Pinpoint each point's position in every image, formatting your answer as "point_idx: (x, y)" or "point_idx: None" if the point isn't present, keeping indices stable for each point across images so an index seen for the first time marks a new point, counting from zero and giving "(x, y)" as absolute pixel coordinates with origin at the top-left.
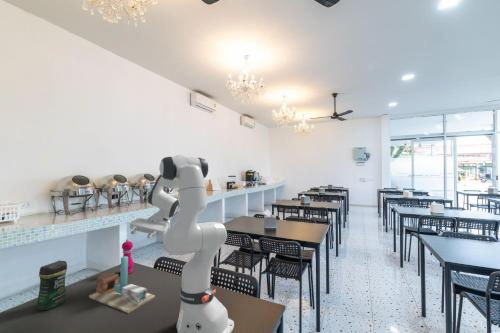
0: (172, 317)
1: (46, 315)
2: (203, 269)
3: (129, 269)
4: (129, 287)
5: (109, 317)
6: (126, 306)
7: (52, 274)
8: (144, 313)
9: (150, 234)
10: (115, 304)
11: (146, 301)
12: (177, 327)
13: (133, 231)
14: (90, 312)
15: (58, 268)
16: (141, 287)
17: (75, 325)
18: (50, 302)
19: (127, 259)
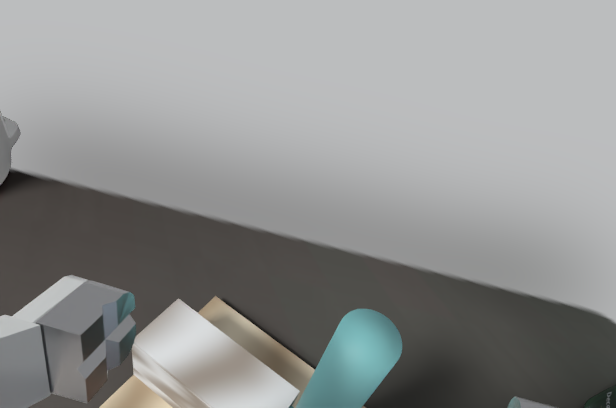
0: (10, 226)
1: (551, 365)
2: None
3: None
4: (251, 383)
5: (285, 291)
6: (234, 333)
7: None
8: (138, 283)
9: (58, 302)
10: (297, 365)
11: (133, 377)
12: (8, 153)
13: (524, 402)
14: None
15: None
16: (169, 365)
17: (386, 273)
18: (602, 393)
19: (332, 338)
